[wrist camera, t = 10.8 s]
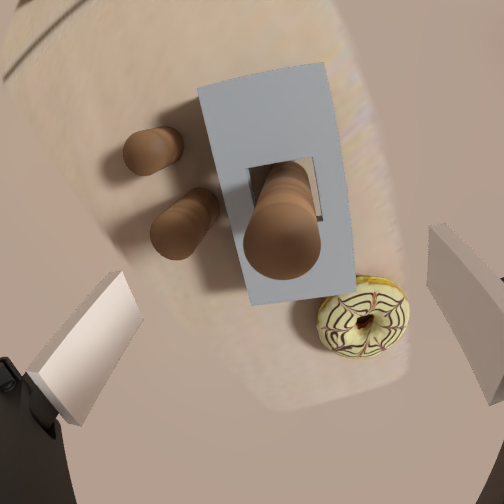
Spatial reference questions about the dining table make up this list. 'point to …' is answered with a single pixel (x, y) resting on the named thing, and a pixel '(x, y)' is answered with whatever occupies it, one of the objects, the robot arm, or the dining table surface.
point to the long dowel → (283, 225)
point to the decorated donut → (361, 304)
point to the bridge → (279, 150)
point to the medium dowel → (184, 224)
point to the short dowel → (152, 150)
